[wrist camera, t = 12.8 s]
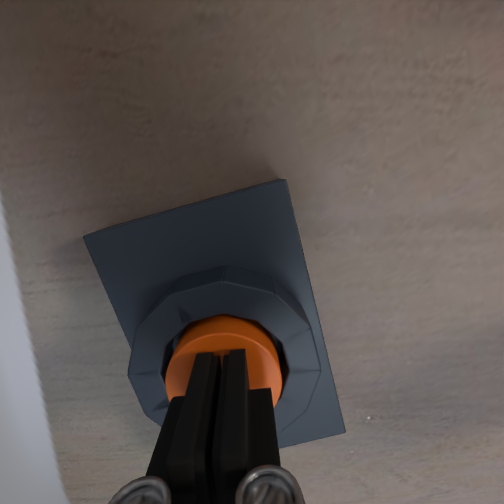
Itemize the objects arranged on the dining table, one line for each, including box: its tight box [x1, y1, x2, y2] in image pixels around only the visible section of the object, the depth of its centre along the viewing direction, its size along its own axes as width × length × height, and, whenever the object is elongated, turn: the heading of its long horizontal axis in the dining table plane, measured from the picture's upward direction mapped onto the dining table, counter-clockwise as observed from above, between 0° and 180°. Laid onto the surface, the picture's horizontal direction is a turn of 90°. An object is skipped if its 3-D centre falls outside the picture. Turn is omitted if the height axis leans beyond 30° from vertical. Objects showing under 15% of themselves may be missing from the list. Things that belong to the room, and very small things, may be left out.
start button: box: [165, 313, 282, 407], centre depth 11 cm, size 4×4×2 cm
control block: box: [83, 179, 346, 449], centre depth 13 cm, size 12×8×4 cm, turn 15°
